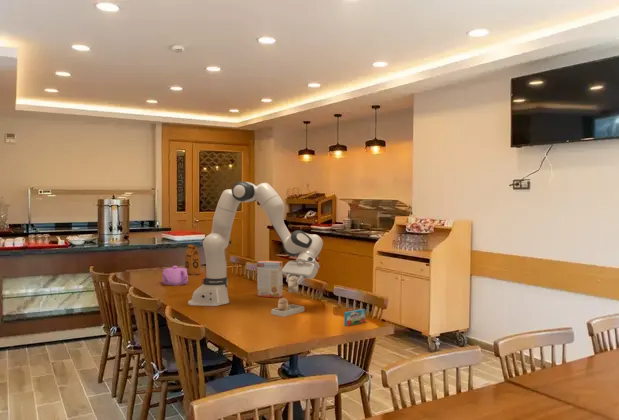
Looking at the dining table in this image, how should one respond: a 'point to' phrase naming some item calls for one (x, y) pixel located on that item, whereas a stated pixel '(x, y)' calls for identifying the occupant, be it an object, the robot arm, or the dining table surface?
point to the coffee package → (192, 260)
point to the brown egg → (283, 305)
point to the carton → (291, 310)
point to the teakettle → (175, 276)
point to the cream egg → (292, 284)
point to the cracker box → (269, 279)
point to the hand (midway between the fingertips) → (292, 282)
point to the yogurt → (354, 317)
